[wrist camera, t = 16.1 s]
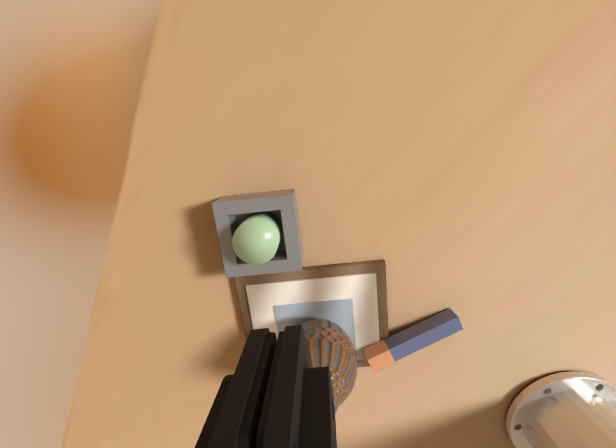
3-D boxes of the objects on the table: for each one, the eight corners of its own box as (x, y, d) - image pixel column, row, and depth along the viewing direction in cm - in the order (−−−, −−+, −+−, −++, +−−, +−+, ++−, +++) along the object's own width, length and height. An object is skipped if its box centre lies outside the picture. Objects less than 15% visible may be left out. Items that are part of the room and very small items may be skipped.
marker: (449, 307, 31) (458, 316, 30) (454, 320, 32) (463, 330, 30) (362, 349, 31) (367, 360, 30) (368, 360, 32) (373, 372, 30)
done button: (279, 208, 28) (274, 219, 24) (284, 246, 29) (280, 262, 25) (239, 213, 28) (228, 223, 24) (245, 250, 29) (236, 266, 25)
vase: (272, 341, 31) (257, 415, 23) (312, 295, 30) (312, 356, 21) (324, 375, 33) (328, 457, 24) (365, 331, 31) (385, 403, 23)
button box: (294, 188, 28) (292, 194, 25) (303, 257, 30) (302, 270, 27) (221, 196, 28) (211, 203, 25) (234, 264, 30) (226, 277, 27)
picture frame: (383, 259, 30) (386, 263, 29) (388, 359, 33) (390, 366, 32) (236, 273, 30) (233, 278, 30) (254, 370, 34) (252, 377, 33)
